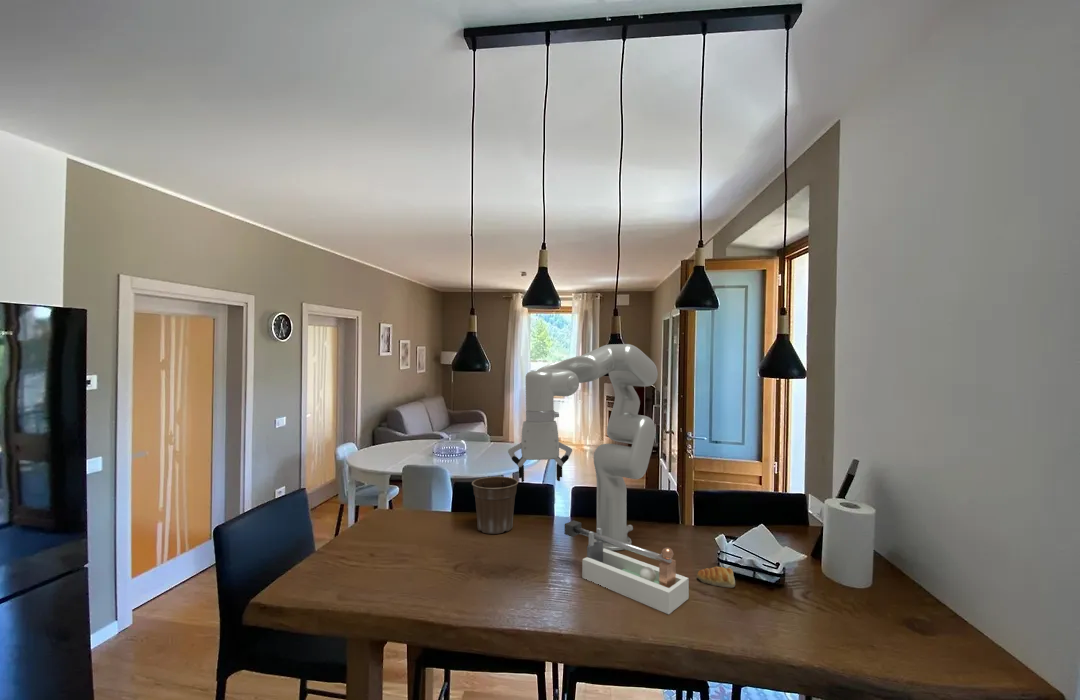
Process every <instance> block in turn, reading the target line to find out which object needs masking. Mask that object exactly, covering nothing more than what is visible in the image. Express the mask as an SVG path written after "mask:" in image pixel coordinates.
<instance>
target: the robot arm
mask: <svg viewBox="0 0 1080 700" xmlns="http://www.w3.org/2000/svg"><path fill="white" fill-rule="evenodd" d="M607 374H608V377H609V380H610V382H611V386H612V388H613V392H614V403H613V405H612V409H611V413H610V417H609V420H608V424H607V427H606V435H607V437H608V438H609V439H610V440H612V441H615V442H617V443H622V444H617V443H615V444H614V443H602V444H600V445H598V446H597V447H596V449H595V450H594V453H593V464H594V470H595V477H596V529H597V528H601V529H602V535H603V536H607V537H610V538H613V539H616V540H619V541H622V542H625V543H628V544H631V545H632V539H631V538H630V537H629V536H628V534H629V532H631V531H633V530H634V526H633V525H632V524H627V494H628V493H627V485H626V482H625V479H624V478H626V479H631V480H639V479H641V478H643V477H644V476H645V474H646V473H647V470H648V467H649V463H650V459H651V456H652V451H653V447H654V442H655V438H656V425H655V423H654V421H653V419H652V418H651V417H649V416H646V415H641V414H639V411H640V405H641V400H640V397H639V395H638V393H637V391H636V390H635V388H634V387H650V386H652V385H654V384H655V383H656V382H657V380H658V376H659V375H658V374H659V373H658V367H657V366H656V364H655V362H654V361H653V360H652V359H651V358H650V357H649V356H648V355H647V354H645V353H644V352H643V351H642V350H641V349H640V348H638V347H637V346H635V345H633V344H630V343H618V344H617V343H616V344H615V343H614V344H613V343H612V344H605V345H602V346H600V347H598V348H595V349H593V350H591V351H588V352H586V353H584V354H582V355H581V354H580V355H579V356H574V357H570V358H566V359H563V360H558V361H555V362H552V363H550V364H547V365H545V366H543V367H541V368H538V369H537V370H533V371H532V370H531V371H529V372H527V373H526V375H525V421H523V422H522V429H521V440H520V441H521V442H520V443H518V444H516V445H514V446H512V447H510V448H508V449H507V453H508V455H509V457H510V459H511V460H512V462H513V463H515V464H516V465H517V467H518V479H521V483H524V482H525V462H527V461H534V460H535V461H536V460H537V461H539V460H541V461H543V460H545V461H546V460H549V461H550V460H554V461H555V462H556V465H555V466H556V467H555V469H556V470H555V471H556V481H557V482H560V481H561V478H563V466H564V465H565V463H566V462H567V461H568V460H569V459H570V456H571V455H572V452H573V448H571V446H568V445H566V444H564V443H562V442H560V440H559V439H560V438H559V432H558V431H559V430H558V423H557V421H556V420H555V419H556V418H560V412H557V411H555V409H554V408H555V406H554V402H555V401H554V397H569V396H572V395H574V394H575V393H576V392H577V391H578V389H579V387H580V384H584V383H589V382H595V381H596V380H598V379H600V378H602V377H603V376H605V375H607ZM623 443H624V444H630V445H631V446H627V445H623ZM560 449H561V450H562V451H565V453H564V455H562V456H561V457H560ZM519 450H520V451H521V457H520V458H518V456H517V455H516V454H515V452H518V451H519ZM596 541H597V540H596V539H594V542H596ZM604 548H605V549H608V550H611V551H614V552H616V551H624V550H625V549H622V548H620V547H617V546H614V545H611V544H608V543H605V542H603V549H604Z"/></svg>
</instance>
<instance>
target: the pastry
mask: <svg viewBox="0 0 1080 700" xmlns="http://www.w3.org/2000/svg"><path fill="white" fill-rule="evenodd" d="M733 570H734V569H733V568H730V567H727V568H725V567H723V566H714V567H709V568H708V567H707V568H703V569H700V570H698V572H697V575H696V577H697V579H698V580H699V581H700V582H702V583H703V584H708V585H711V586H714V587H722V588H731V589H732V588H735V586H736V580H735V576H734V571H733Z"/></svg>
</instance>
